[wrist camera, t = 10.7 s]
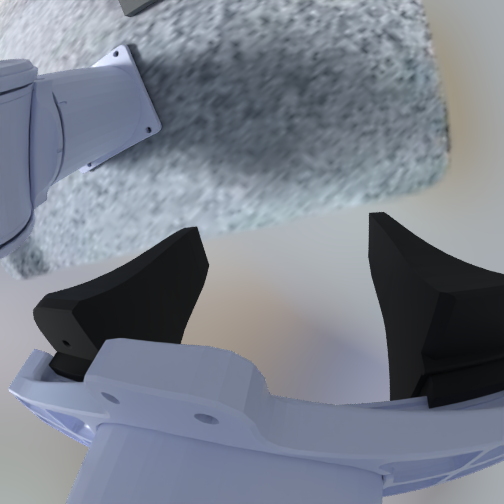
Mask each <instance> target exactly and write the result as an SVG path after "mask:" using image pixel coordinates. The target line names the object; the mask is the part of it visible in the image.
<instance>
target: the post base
mask: <svg viewBox="0 0 504 504" xmlns="http://www.w3.org/2000/svg"><path fill="white" fill-rule="evenodd" d="M156 1H158V0H119V2H120V5H121V7H122V10H123V12H124V15H125V16H128V17H132V16H133V15H135V14H136V13H138V12H139V11H141V10H143V9H144V8H146V7H147V6H149V5H151V4H153V3H154V2H156Z"/></svg>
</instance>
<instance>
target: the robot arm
mask: <svg viewBox="0 0 504 504" xmlns="http://www.w3.org/2000/svg"><path fill="white" fill-rule="evenodd" d="M117 52H119V55H118V56H116V53H117ZM37 74H38V68H37V67H36V66H33V64H32V63H31V62H30V61H29V60H28V59H10V60H1V61H0V259H2V258H4V257H6V256H7V255H9V254H10V253H12V252H13V251H15V250H16V249H17V248H18V247H19V246H21V245H22V244H23V243H24V241H25V240H26V239H27V238H28V237H29V235H30V233H31V232H32V229H33V227H34V222H35V214H34V209H35V208H36V207H38V206H39V205H41V204H42V203H43V202H45V201H46V200H47V192H48V189H49V187H50V186H52V185H53V184H55V183H56V182H58V181H59V180H61V179H63V178H64V177H66V176H68V175H69V174H71V173H73V172H74V171H76V170H78V169H79V170H80V172H81V173H86V172H88V171H89V170H91V169H93V168H94V167H96V166H98V165H99V164H101V163H103V162H104V161H106V160H108V159H109V158H111V157H113V156H115V155H116V154H118V153H120V152H122V151H123V150H125V149H127V148H129V147H131V146H133V145H135V144H136V143H138V142H140V141H142V140H144V139H146V138H148V137H150V136H152V135H154V134H156V133H158V132H159V131H160V130H161V127H162V126H161V123H160V120H159V118H158V116H157V114H156V111H155V109H154V107H153V104H152V102H151V100H150V97H149V95H148V93H147V90H146V88H145V86H144V83H143V81H142V79H141V76H140V74H139V72H138V69H137V67H136V64H135V62H134V60H133V57H132V55H131V52H130V50H129V48H128V46H127V45H120V46H118V47H117V48H115V49H114V50H112V51H111V52H110V53H108V54H107V55H106V56H104V57H103V58H102V59H100V60H99V61H98V62H96V63H95V64H94V65H92V66H91V67H90V68H81V69H73V70H66V71H60V72H54V73H48V74H43V75H38V76H37ZM148 127H150V128H151V130H152V131H151V132H149V131H148ZM90 162H91V164H90ZM368 258H369V264H370V269H371V276H372V279H373V283H374V286H375V290H376V293H377V297H378V300H379V304H380V308H381V311H382V315H383V319H384V324H385V330H386V339H387V347H388V359H389V373H390V374H389V375H390V401H384V402H374V403H362V404H346V405H333V404H324V403H317V402H311V401H305V400H299V399H292V398H287V397H281V396H276V395H271V394H270V392H269V391H268V387H267V384H266V381H265V378H264V376H263V375H262V374H261V372H260V371H259V370H258V369H257V367H256V366H255V365H254V364H253V363H252V362H251V361H249V360H248V359H246V358H244V357H242V356H240V355H238V354H236V353H234V352H232V351H229V350H224V349H220V348H215V347H210V346H199V345H185V344H181V340H182V337H183V334H184V330H185V328H186V325H187V322H188V320H189V318H190V315H191V313H192V311H193V309H194V306H195V304H196V302H197V300H198V297H199V295H200V293H201V290H202V288H203V286H204V283H205V280H206V276H207V272H208V268H209V263H208V260H207V257H206V254H205V251H204V247H203V244H202V241H201V238H200V235H199V231H198V228H197V227H189V228H183V229H181V230H179V231H177V232H176V233H174V234H172V235H171V236H169V237H167V238H166V239H164V240H163V241H161V242H160V243H158V244H157V245H155V246H154V247H152V248H151V249H149V250H147V251H146V252H144V253H143V254H141V255H140V256H138V257H137V258H135V259H133V260H132V261H130V262H128V263H126V264H125V265H123V266H121V267H119V268H117V269H115V270H113V271H111V272H109V273H107V274H105V275H102V276H100V277H98V278H96V279H94V280H91V281H88V282H86V283H83V284H80V285H77V286H74V287H71V288H68V289H64V290H60V291H57V292H53V293H49V294H47V295H46V296H44V298H43V299H42V300H41V301H40V302H39V303H38V305H37V306H36V307H35V308H34V310H33V316H34V320H35V322H36V324H37V326H38V328H39V329H40V331H41V332H42V333H43V334H44V336H45V337H46V339H47V340H48V341H49V343H50V344H51V345H52V346H53V348H54V349H55V350H56V351H57V353H56V354H55V356H54V357H53V356H52V355H50V354H49V353H46V352H43V351H40V350H37V349H34V351H33V352H32V353H31V355H30V356H29V358H28V359H27V361H26V362H25V364H24V365H23V367H22V368H21V370H20V371H19V373H18V374H17V376H16V377H15V379H14V380H13V382H12V384H11V385H10V387H9V391H10V392H11V393H12V394H13V395H14V396H15V397H16V398H17V399H18V400H19V401H20V402H21V403H22V404H23V405H24V406H26V407H27V408H28V409H29V410H30V411H31V412H32V413H34V414H35V415H36V416H37V417H38V418H40V419H41V420H42V421H43V422H45V423H46V424H48V425H50V426H51V427H53V428H55V429H56V430H58V431H60V432H62V433H64V434H66V435H67V436H69V437H71V438H72V439H74V440H76V441H78V442H80V443H82V444H83V445H85V446H87V447H89V450H88V452H87V454H86V456H85V459H84V461H83V463H82V466H81V468H80V470H79V472H78V475H77V477H76V479H75V482H74V484H73V487H72V489H71V492H70V494H69V496H68V499H67V502H66V504H382V497H386V496H392V495H397V494H402V493H407V492H411V491H416V490H420V489H423V488H428V487H431V486H435V485H438V484H442V483H445V482H448V481H451V480H455V479H457V478H461V477H463V476H466V475H469V474H472V473H475V472H477V471H480V470H482V469H485V468H487V467H490V466H492V465H495V464H497V463H500V462H502V461H504V274H501V273H497V272H493V271H489V270H486V269H483V268H480V267H477V266H474V265H472V264H469V263H466V262H464V261H462V260H459V259H457V258H455V257H453V256H451V255H448V254H446V253H444V252H443V251H441V250H439V249H437V248H435V247H433V246H432V245H430V244H428V243H427V242H425V241H424V240H422V239H421V238H419V237H418V236H416V235H414V234H413V233H412V232H411V231H409V230H408V229H406V228H405V227H404V226H402V225H401V224H400V223H398V222H397V221H396V220H394V219H393V218H391V217H390V216H389V215H387V214H386V213H384V212H378V213H377V212H376V213H369V252H368Z"/></svg>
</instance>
